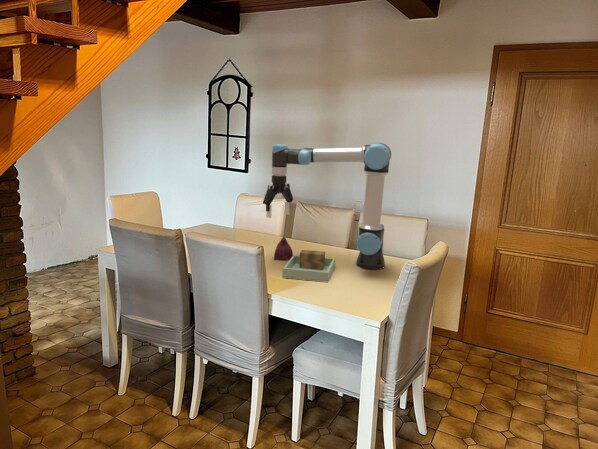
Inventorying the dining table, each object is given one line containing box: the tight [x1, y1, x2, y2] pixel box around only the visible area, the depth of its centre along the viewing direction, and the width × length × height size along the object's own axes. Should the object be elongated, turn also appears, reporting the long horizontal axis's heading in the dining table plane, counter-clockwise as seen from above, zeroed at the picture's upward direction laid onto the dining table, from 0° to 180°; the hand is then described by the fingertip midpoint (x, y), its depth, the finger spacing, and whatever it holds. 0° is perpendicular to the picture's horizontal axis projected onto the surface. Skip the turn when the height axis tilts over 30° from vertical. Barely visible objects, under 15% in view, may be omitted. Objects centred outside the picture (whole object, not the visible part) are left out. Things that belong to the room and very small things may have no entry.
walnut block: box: [299, 249, 326, 270], centre depth 236 cm, size 12×6×8 cm, turn 78°
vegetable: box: [273, 236, 294, 262], centre depth 250 cm, size 10×10×15 cm
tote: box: [282, 254, 336, 284], centre depth 230 cm, size 22×24×5 cm
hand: (278, 215), depth 240 cm, fingers open, 13 cm apart
